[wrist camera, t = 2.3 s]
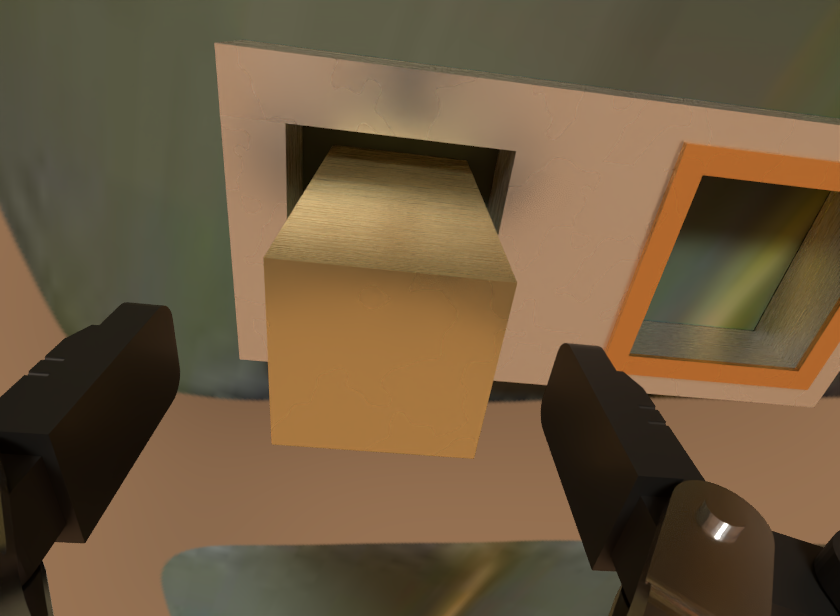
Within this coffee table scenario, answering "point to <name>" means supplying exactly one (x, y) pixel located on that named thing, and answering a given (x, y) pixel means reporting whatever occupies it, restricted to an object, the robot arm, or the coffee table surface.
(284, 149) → the plate with square holes
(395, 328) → the tan wooden block
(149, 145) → the coffee table surface
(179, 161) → the coffee table surface
